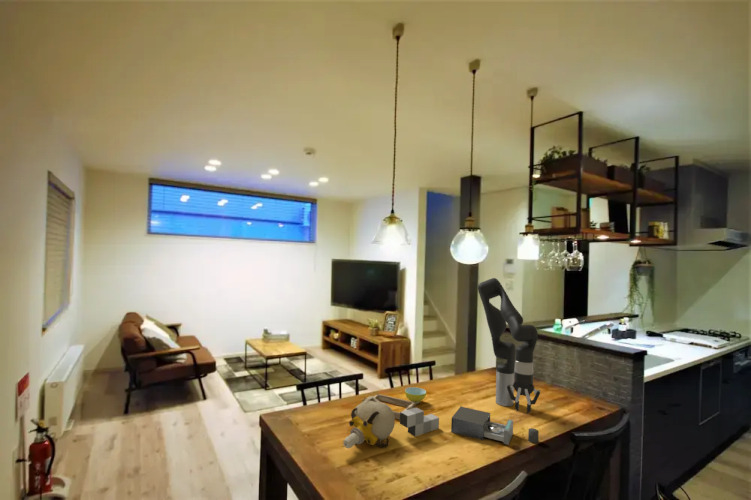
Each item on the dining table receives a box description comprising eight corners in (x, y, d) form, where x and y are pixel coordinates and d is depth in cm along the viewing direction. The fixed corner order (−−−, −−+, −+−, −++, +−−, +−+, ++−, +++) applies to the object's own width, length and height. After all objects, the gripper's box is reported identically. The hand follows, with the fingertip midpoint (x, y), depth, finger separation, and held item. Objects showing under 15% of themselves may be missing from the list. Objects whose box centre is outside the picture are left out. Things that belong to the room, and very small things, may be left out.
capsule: (528, 437, 162) (529, 427, 162) (538, 440, 160) (538, 429, 160) (527, 441, 158) (528, 431, 158) (537, 444, 156) (538, 433, 156)
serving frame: (377, 399, 200) (377, 393, 201) (415, 408, 190) (415, 402, 190) (362, 410, 186) (362, 404, 186) (401, 420, 175) (401, 414, 175)
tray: (479, 425, 172) (479, 412, 172) (512, 433, 165) (513, 420, 165) (473, 435, 161) (473, 422, 161) (508, 444, 154) (508, 430, 154)
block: (406, 440, 157) (407, 416, 157) (399, 435, 161) (399, 412, 161) (438, 428, 168) (439, 406, 168) (431, 424, 172) (431, 402, 172)
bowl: (427, 407, 192) (427, 395, 192) (405, 406, 192) (405, 394, 193) (424, 398, 204) (425, 387, 204) (404, 398, 204) (404, 386, 204)
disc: (489, 426, 167) (489, 423, 167) (502, 430, 164) (502, 426, 164) (486, 432, 162) (486, 428, 162) (500, 435, 159) (500, 431, 159)
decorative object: (368, 385, 170) (317, 410, 148) (406, 407, 156) (357, 439, 133) (365, 414, 173) (314, 443, 151) (402, 439, 158) (353, 475, 136)
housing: (460, 419, 178) (460, 406, 178) (489, 427, 171) (490, 413, 171) (451, 432, 164) (451, 417, 165) (482, 440, 158) (483, 425, 158)
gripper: (505, 370, 158) (504, 410, 158) (541, 376, 151) (540, 418, 151) (507, 366, 165) (507, 405, 164) (542, 372, 158) (541, 412, 157)
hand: (522, 411), depth 158 cm, fingers open, 3 cm apart
